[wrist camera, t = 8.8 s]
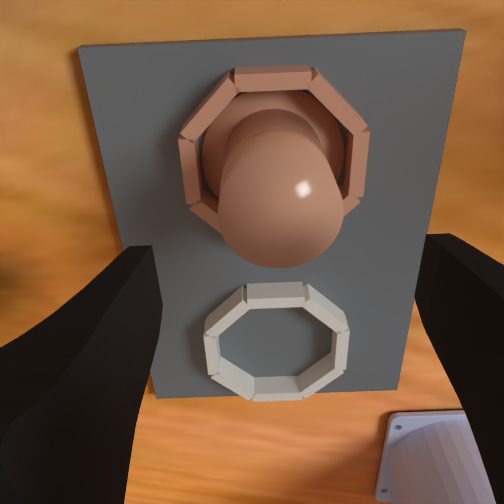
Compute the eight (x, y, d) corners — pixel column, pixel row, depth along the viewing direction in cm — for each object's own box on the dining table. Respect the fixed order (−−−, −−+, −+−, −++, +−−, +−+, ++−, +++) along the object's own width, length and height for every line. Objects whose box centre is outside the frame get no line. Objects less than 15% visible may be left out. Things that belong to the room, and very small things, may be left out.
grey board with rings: (394, 382, 28) (402, 406, 26) (157, 390, 28) (152, 415, 26) (459, 28, 17) (480, 36, 16) (81, 45, 17) (66, 54, 16)
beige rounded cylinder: (319, 200, 20) (339, 266, 16) (227, 204, 20) (222, 271, 16) (323, 106, 18) (348, 153, 14) (219, 110, 18) (212, 160, 14)
